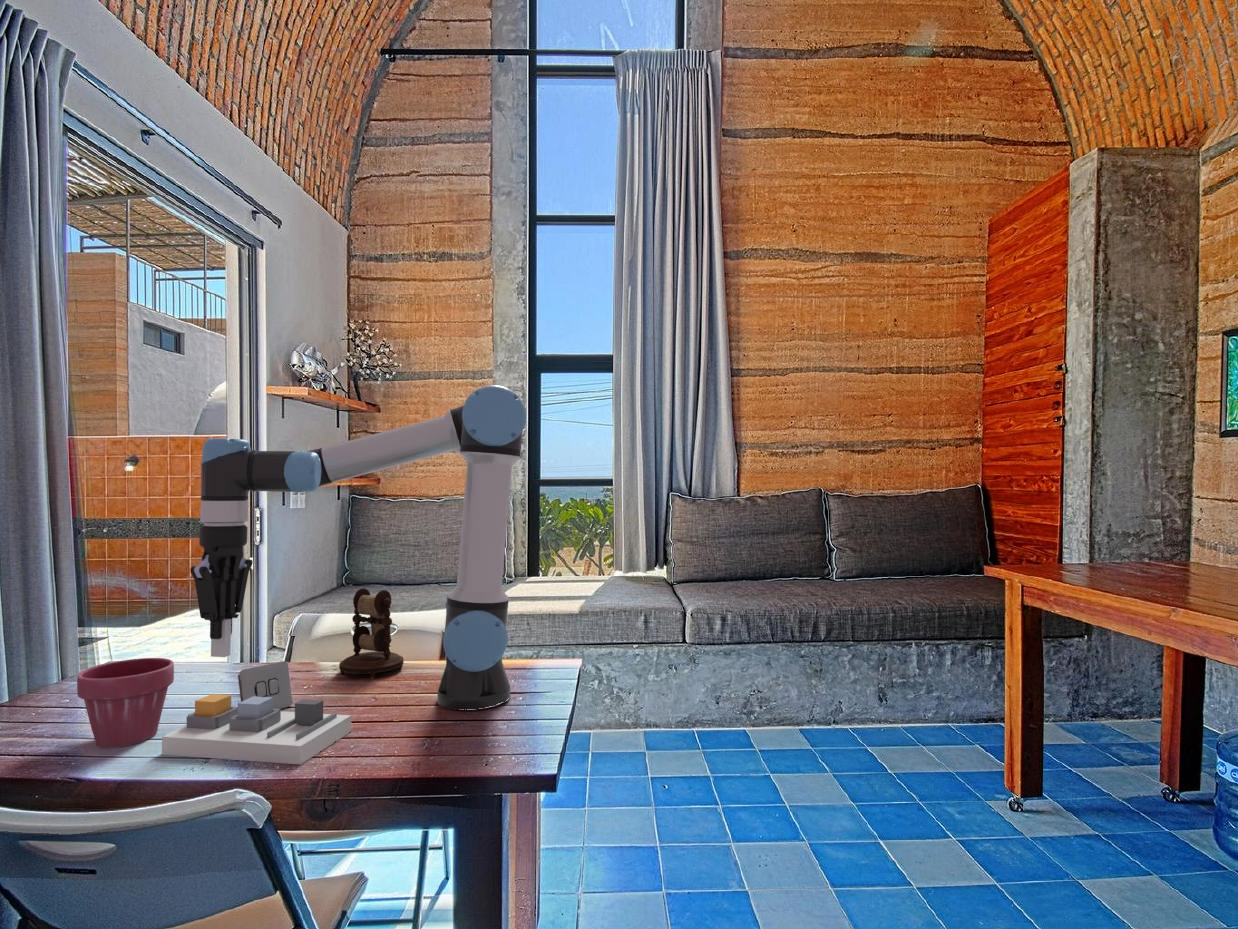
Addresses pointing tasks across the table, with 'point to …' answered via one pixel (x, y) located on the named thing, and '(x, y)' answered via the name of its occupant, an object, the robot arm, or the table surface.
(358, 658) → the brown spool stand
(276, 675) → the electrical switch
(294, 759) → the switch panel
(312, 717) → the slide switch
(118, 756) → the table surface
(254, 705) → the grey button
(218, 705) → the orange button
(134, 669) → the plant pot
